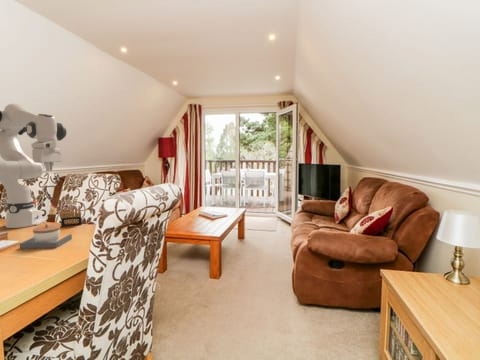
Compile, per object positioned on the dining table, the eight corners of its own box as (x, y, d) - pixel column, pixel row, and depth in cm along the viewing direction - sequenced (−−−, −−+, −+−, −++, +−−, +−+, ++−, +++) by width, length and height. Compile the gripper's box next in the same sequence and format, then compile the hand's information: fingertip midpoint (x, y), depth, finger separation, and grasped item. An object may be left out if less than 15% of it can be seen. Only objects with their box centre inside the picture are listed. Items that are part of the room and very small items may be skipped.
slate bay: (38, 239, 140) (38, 234, 140) (71, 238, 141) (71, 234, 141) (19, 248, 126) (19, 243, 126) (56, 247, 128) (56, 242, 128)
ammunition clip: (61, 226, 165) (60, 206, 164) (61, 226, 167) (60, 206, 166) (81, 224, 170) (80, 205, 169) (82, 224, 171) (81, 205, 170)
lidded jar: (31, 248, 127) (29, 228, 126) (36, 241, 136) (35, 223, 135) (59, 245, 131) (57, 226, 130) (62, 239, 141) (61, 221, 140)
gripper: (52, 145, 158) (54, 169, 159) (28, 144, 138) (30, 172, 139) (64, 145, 158) (65, 169, 160) (42, 144, 138) (44, 171, 139)
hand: (49, 170), depth 149 cm, fingers closed
